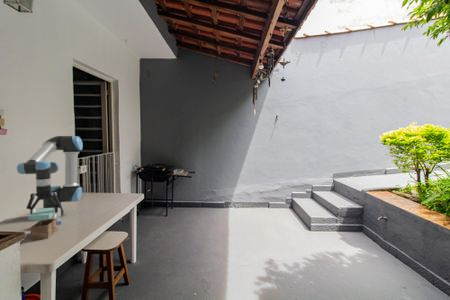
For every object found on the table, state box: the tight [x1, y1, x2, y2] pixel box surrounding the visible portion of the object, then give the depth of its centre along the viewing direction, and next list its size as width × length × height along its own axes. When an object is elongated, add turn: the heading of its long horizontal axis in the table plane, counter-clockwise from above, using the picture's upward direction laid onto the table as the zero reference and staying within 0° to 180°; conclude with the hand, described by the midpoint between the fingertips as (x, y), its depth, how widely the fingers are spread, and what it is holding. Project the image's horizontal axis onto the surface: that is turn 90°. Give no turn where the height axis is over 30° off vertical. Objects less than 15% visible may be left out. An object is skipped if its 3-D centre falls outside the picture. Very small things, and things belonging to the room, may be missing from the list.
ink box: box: [49, 208, 62, 226], centre depth 171 cm, size 9×5×12 cm, turn 141°
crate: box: [30, 219, 58, 241], centre depth 154 cm, size 14×9×8 cm, turn 15°
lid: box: [27, 207, 59, 222], centre depth 154 cm, size 15×11×4 cm
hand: (44, 218), depth 154 cm, fingers closed on lid, 11 cm apart
